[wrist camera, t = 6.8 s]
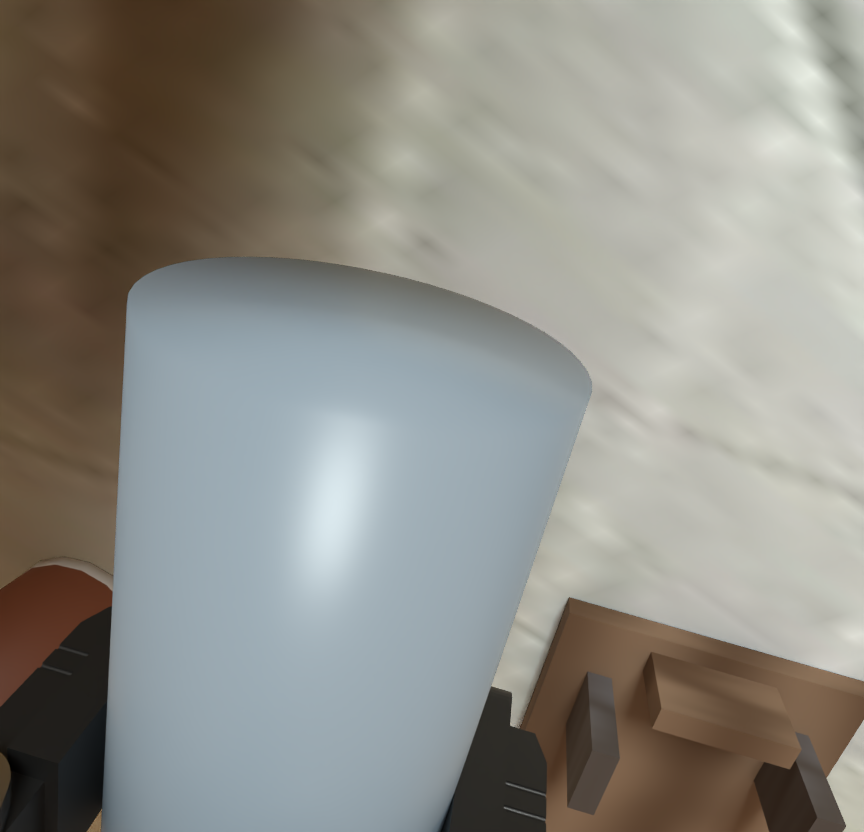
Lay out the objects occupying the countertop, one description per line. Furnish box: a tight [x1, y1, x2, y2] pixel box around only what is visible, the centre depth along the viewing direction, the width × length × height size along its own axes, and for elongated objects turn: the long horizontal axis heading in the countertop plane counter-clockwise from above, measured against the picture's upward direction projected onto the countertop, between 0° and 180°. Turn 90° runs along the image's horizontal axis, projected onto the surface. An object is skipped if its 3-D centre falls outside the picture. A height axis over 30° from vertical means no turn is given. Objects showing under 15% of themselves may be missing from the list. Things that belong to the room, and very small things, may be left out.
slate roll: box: [101, 257, 592, 832], centre depth 11 cm, size 14×5×5 cm, turn 167°
